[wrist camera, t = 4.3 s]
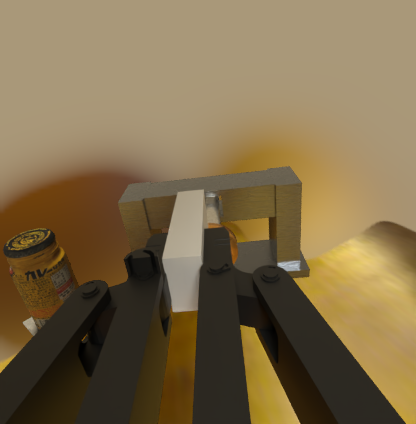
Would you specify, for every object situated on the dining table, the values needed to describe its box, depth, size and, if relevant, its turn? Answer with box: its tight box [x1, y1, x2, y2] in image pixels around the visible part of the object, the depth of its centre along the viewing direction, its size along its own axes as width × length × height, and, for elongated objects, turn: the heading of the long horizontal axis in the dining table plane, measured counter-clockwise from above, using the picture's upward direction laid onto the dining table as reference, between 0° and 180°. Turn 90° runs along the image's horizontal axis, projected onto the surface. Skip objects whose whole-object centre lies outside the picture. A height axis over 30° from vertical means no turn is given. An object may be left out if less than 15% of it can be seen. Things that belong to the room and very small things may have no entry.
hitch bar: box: [118, 166, 310, 278], centre depth 42 cm, size 24×8×13 cm, turn 90°
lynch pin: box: [205, 196, 238, 264], centre depth 35 cm, size 5×14×5 cm, turn 0°
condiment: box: [3, 228, 79, 336], centre depth 36 cm, size 7×8×12 cm
